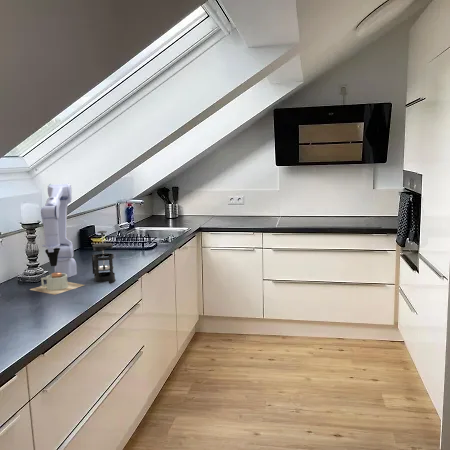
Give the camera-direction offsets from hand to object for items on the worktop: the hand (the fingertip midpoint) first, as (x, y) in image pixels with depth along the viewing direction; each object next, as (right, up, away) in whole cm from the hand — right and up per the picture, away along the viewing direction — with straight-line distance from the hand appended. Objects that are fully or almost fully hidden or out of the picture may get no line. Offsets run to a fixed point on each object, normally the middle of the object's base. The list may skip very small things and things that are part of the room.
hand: (53, 265), depth 199 cm
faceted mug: (+1, -9, +1) cm, 9 cm away
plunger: (+1, -9, +1) cm, 9 cm away
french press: (+18, -8, +13) cm, 24 cm away
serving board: (+1, -10, +1) cm, 10 cm away
